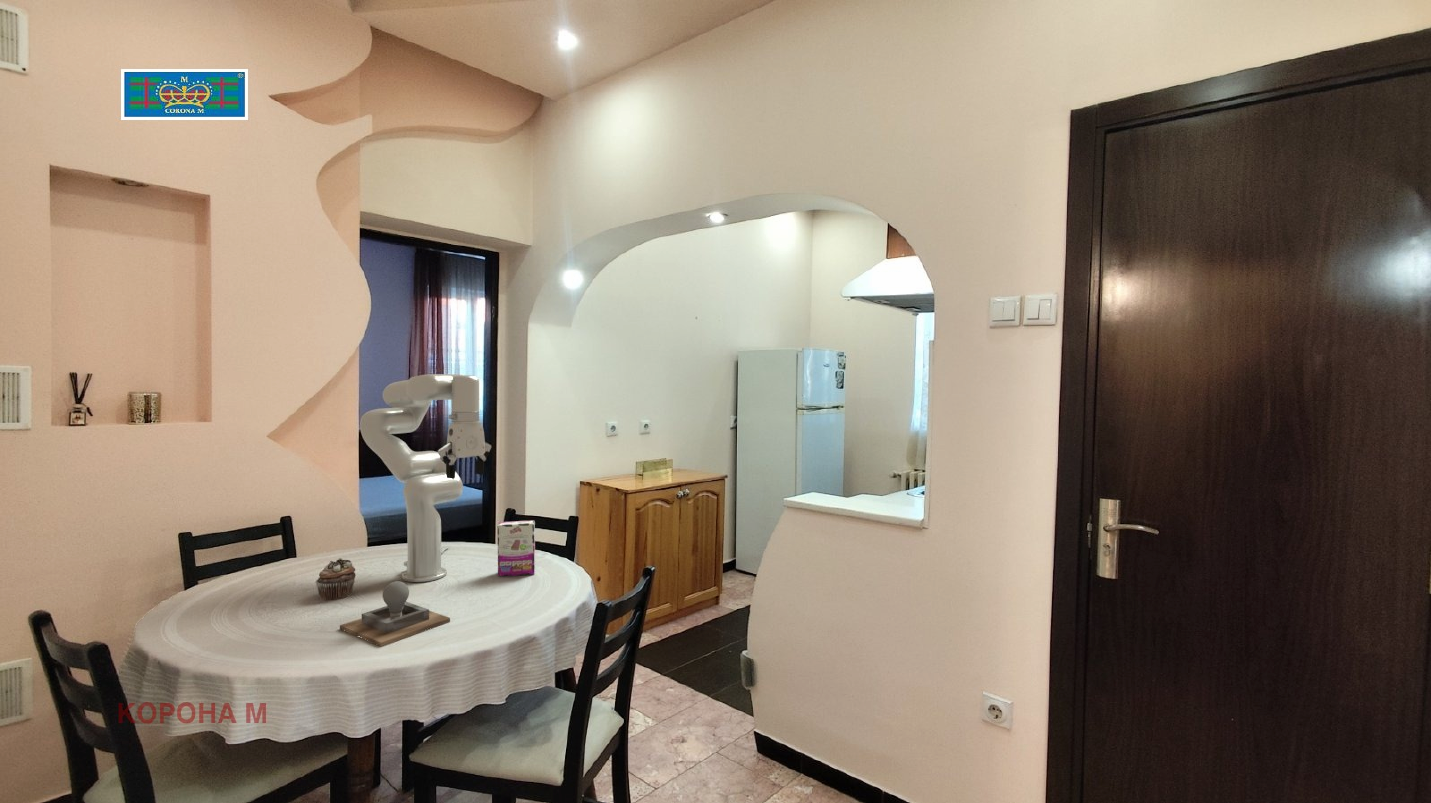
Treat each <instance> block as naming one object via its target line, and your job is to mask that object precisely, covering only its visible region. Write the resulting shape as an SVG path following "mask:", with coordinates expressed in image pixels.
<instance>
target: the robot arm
mask: <svg viewBox="0 0 1431 803" xmlns="http://www.w3.org/2000/svg"><path fill="white" fill-rule="evenodd" d="M382 399H383V401H384V402H385V404H386V405H388V406H389V407H386V408H375V409H372V410H369V411H367V412H365V413H364V414H362V416H361V418H360V421H359V429H360V433H361V436H362V439H363V440H364V442H365V444H366V446H368V448H369V449H370V450H372V452H374V453H375V454H376V455H377V457H379V458H380V459H381V461H382V462H383V463H384V465H385V466H386V467H387V469H388V470H389V471H390V472H391V474H392V475H393V476H394V477H395V478H396V480H397V481H399V482H400V483H403V484H404V486H403V487H402V488H403V490H402V493H403V497H404V503H405V508H406V509H405V510H406V528H407V530H406V531H407V536H406V537H407V561H404V562H403V566H404V567H406V571H404V572H403V573H402V575H401V579H402V580H403V581H404V582H410V583H423V582H424V583H425V582H430V581H431V582H432V581H435V580H439V579H441V578H444V577H445V576H446V575H447V569H446V568H445V567H443V566H442V553H441V548H442V520H441V515H440V513H439V512H438V510H437V509H436V508H435V505H438V504H443V503H448V502H453V501H455V500H458V499H459V498H460V497H461V496H462V494H463V491H464V485H463V481H462V479H461V477H460V476H459V474H458V473H457V471H456V464H455V462H456V461H457V459H462V458H463V459H464V458H465V459H466V458H472V457H475V459H476V460H475V461H474V463H475V464H474V466H475V467H474V473H475V475H485V461H487V457H488V456H489V455H490V451H491V449H492V445H491V444H489V443H488V442H486V441H485V431H484V426H483V423H482V421H480V378H479V377H477V376H476V375H468V374H467V375H463V374H455V373H454V374H453V373H450V374H447V373H446V374H445V373H444V374H443V373H441V374H440V373H430V374H421V375H415V376H411V377H410V378H409V379H406V380H399V381H395V382H391V383H390V384H387V386H386V387H385V388H384V389H383V391H382ZM440 400H441V401H443V400H445V401H448V400H449V401H451V403H450V404H451V414H448V417H447V418H448V419H449V420H451V422H450V423H449V426H448V429H447V430H448V431H447V438H446V444H445V445H443V446H442V447H441V448H439V449H438V450H437V451H434V450H425V451H424V450H423V451H414V450H412V449H411V448H410V447H409V446H408V444H407V443H406V442H405V441H403V440H402V439H400V438H399V437H397V436H395V435H397V434H407V433H413V432H415V431H417V429H418V428H419V426H421V424H422V421H423V419H424V417H425V415H426V414H427V412H428V410H429V408H430V406H431V404H432V402H433V401H440ZM390 407H391V408H390ZM446 453H447V455H446Z"/></svg>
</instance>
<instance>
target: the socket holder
mask: <svg viewBox="0 0 1431 803" xmlns="http://www.w3.org/2000/svg"><path fill="white" fill-rule="evenodd" d="M390 618H391V617H390V612H389V608H388V606H387V605H386V606H383V607H379V608H376V609H373V610H369V611H366V612H362V613H361V618H358V619H355V620H352V621H348V622H346V623H342V624H339V630H340V629H342V630H341V631H343V630H345V631H347V632H349V633H348V634H350V633H351V634H350V635H352V634H353V635H352V636H355V637H357V636H360V637H362V638H363V639H362V638H361V639H362V640H364V639H366V640H368V641H367V642H369V641H370V642H369V643H371V642H372V644H374V645H376V644H377V645H376V646H378V645H379V647H381V648H382V647H385V646H387V644H388V645H390V644H393V643H395V642H398V641H401V640H403V639H406V638H409V637H412V636H415V635H417V634H420V633H422V632H426V631H428V629H429V630H431V629H434V628H437V627H440V626H442V625H444V624H447V623H450V622H451V618H450V617H448V616H446V615H443V614H439V613H437V612H435V611H431V610H430V609H429V608H426V607H423V606H421V605H417V604H414V603H413V602H412V603H411V602H408V601H406V602H405V604H404V607H403V610H402V616H401V617H398V618H395V619H392V620H390ZM433 627H434V628H433ZM430 628H431V629H430ZM425 630H426V631H425ZM345 631H344V632H345ZM347 632H346V633H347ZM366 640H365V641H366ZM384 645H385V646H384Z"/></svg>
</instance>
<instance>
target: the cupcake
mask: <svg viewBox="0 0 1431 803" xmlns="http://www.w3.org/2000/svg"><path fill="white" fill-rule="evenodd" d="M355 571H356V568H355V567H354V566H353V562H352V561H351V560H349V559H342V558H338V559H337V560H336V561H332V560H330V561H329V563H328V564H326V565H325V566H324V569H323V570H321V571H320V572H319V574H318V579H316V581H315V584H316V587H317V588H316V589H317V592H318V596H319V599H320V600H323V601H335V600H342V599H345V598H348V597H349V596H348V595H350V594H351V593H353V588H354V584H355V579H356V572H355ZM351 595H352V594H351ZM351 595H350V596H351ZM344 597H345V598H344ZM341 598H342V599H341Z"/></svg>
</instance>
